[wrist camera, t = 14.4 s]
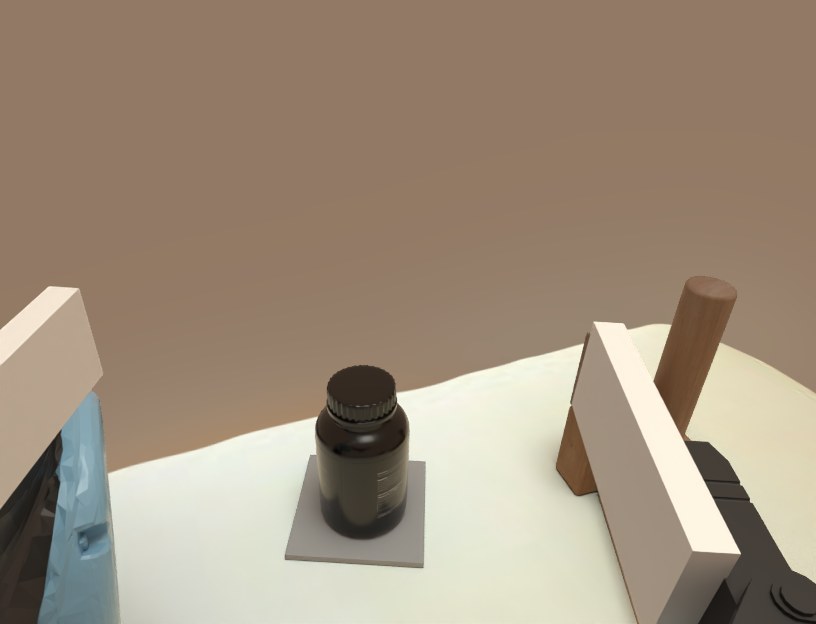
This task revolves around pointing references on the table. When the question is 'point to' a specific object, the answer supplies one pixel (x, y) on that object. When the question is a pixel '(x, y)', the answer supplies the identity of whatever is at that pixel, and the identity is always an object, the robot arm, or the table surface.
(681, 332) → the wooden block
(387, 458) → the supplement bottle
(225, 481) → the table surface
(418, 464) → the felt pad
